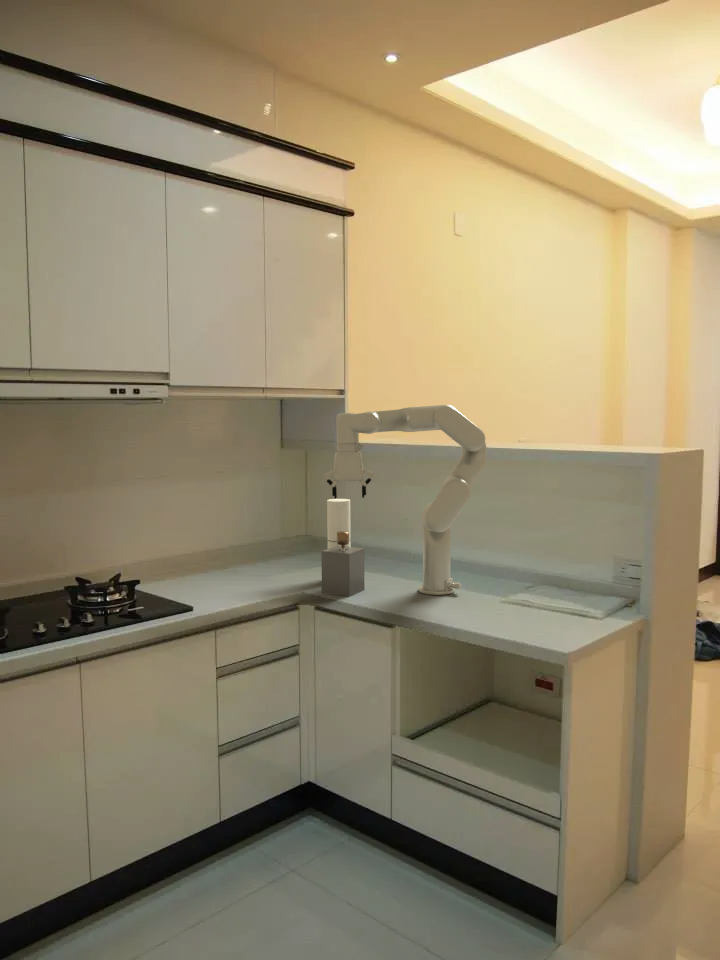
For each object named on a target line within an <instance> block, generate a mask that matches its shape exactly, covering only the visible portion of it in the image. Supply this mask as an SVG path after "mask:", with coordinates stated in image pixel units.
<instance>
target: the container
mask: <svg viewBox="0 0 720 960" xmlns="http://www.w3.org/2000/svg"><path fill="white" fill-rule="evenodd" d="M326 501H327V503H326V507H327V508H326V509H327V510H326V514H327V517H326V518H327V519H326V520H327V521H326V522H327V523H326V524H327V526H326V527H327V529H326V530H327V532H326V533H327V549H329V548H332V547H335V546H341V545H339V544H337V532H340V531H346V532H349V544H347V545H345V547H352V545H351V499H349V498H336V499H335V498H329V499H327V500H326Z"/></svg>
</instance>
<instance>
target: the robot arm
mask: <svg viewBox="0 0 720 960" xmlns="http://www.w3.org/2000/svg"><path fill="white" fill-rule="evenodd" d="M335 419H336V422H335V423H336V447H337V449H336V450H337V451H336V452H335V453H334V460H333V461H334V464H333V469H331V470H330V471H328V472H326V473H324V475H323V477H324V479H325V481H326V482H327V483H328V485H329V486H331V489H332V490H331V491H332V494H331V495H332V497H334V498H333V499H338V498H337V497H338V495H337V494H338V493H337V484H338V483H339V482H340V483H341V482H359V483H360V484H361V485H362V486H361V498H362V499H364V498H365V496H367V486H368V485H369V484H370V482H371V481H372V479H373V477H374V472H372V471H370V470H367V469H365V468H364V461H363V455H362V452H360V450H363V449H364V445H363V444H360V443H359V442H360V441H359V435H360V434H364V435H365V434H366V435H371V434H374V433H384V432H388V433H389V432H402V433H415V432H417V433H418V432H429V431H432V432H433V431H442V432H443V433H444V434H445V435H447V436H448V437H449V438H450V439H451V440H453V441H454V442H456V443H457V444H458V445H459V446H461V450H462V453H461V456H460V457H459V460H458V461H457V463H456V465H455V466H454V467H453V469H452V470H451V472H450V474H448V476H446V478H445V480H444V481H443V482H442V484H441V487H440V489H441V490H440V491H439V492H438V494H437V495H436V497H435V498H434V500H433V501H431V502H428V503H427V505H425V507H424V509H423V512H422V531H423V532H422V585H419V586H418V591H419V593H421V594H425V595H433V596H434V595H435V596H442V595H444V596H445V595H449V594H450V595H451V594H452V593H455V590H461V589H462V583H461V582H458V581H456V582H455V581H454V577H451V541H452V540H451V539H452V537H451V535H452V534H451V532H452V531H451V529H452V528H451V527H452V525H453V524H454V522H455V521H456V519H457V518H458V516H459V515H460V514H461V512H462V511H463V509H464V507H465V506H466V505H467V503H468V501H469V499H470V497H471V488H472V486H473V484H474V483H475V482H476V480H477V479H478V477H479V476H480V474H481V472H482V471H483V469H484V468H485V464H486V461H487V459H488V458H487V457H488V456H487V455H488V450H487V451H486V448H487V443H486V436H485V433H484V431H483V430H482V429H481V428H480V427H479V426H477V425H476V424H475V423H474V422H472V421H471V420H469V419H468V418H467V417H466V416H465V415H463V414H462V413H461V412H460V411H458V409H456V407H454V406H453V405H451V404H439V405H426V406H422V405H421V406H410V407H403V408H400V409H391V410H389V409H388V410H376V411H375V410H374V411H365V412H361V413H359V412H358V413H355V412H341V413H338V414H336V418H335ZM487 449H488V448H487ZM364 474H365V475H368V476H367V479H366V480H365V479H364ZM331 475H333V476H334V477H333V479H334V480H333V481H332V480H331V479H330V476H331Z"/></svg>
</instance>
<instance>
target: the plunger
mask: <svg viewBox="0 0 720 960" xmlns="http://www.w3.org/2000/svg"><path fill="white" fill-rule="evenodd" d="M337 544H339V545H341V551H345V545H347V544H349V532H346V531H340V532H337Z"/></svg>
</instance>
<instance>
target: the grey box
mask: <svg viewBox="0 0 720 960" xmlns="http://www.w3.org/2000/svg"><path fill="white" fill-rule="evenodd" d="M320 552H321V553H320V554H321V594H327V595H335V596H342V597H343V596H344V597H349V598H350V597H351V596H354V595H356V594H358V593H360V592H362V591H364V590H365V548H364V547H354V546H351V547H345V551H341V546H335V547H332V548H329V549H328V548H326V549H323V550H321V551H320Z"/></svg>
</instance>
